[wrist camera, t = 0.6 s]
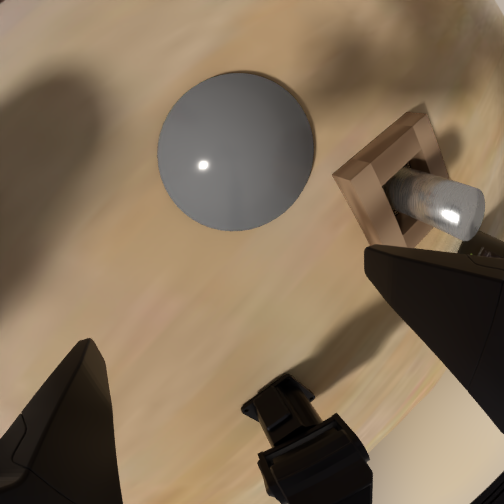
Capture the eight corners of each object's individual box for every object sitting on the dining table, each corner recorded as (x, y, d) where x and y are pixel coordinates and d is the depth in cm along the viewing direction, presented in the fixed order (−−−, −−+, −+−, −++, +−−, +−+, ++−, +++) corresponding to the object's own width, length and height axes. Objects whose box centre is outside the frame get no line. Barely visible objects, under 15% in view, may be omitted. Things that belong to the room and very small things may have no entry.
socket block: (437, 196, 29) (455, 202, 27) (376, 258, 29) (393, 269, 27) (406, 112, 24) (426, 113, 22) (331, 174, 24) (350, 180, 22)
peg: (413, 190, 28) (487, 218, 20) (387, 215, 28) (461, 251, 20) (399, 156, 26) (480, 177, 18) (371, 181, 26) (452, 211, 18)
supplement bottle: (486, 230, 35) (553, 263, 25) (472, 275, 38) (534, 314, 27) (463, 227, 33) (540, 265, 22) (447, 278, 35) (518, 323, 25)
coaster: (333, 166, 24) (337, 167, 23) (224, 257, 24) (226, 261, 23) (254, 46, 19) (257, 44, 18) (123, 143, 19) (122, 144, 18)
